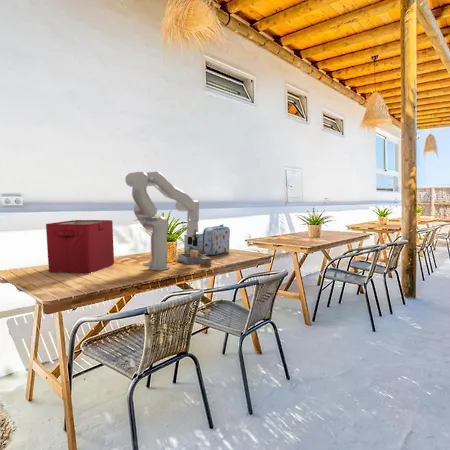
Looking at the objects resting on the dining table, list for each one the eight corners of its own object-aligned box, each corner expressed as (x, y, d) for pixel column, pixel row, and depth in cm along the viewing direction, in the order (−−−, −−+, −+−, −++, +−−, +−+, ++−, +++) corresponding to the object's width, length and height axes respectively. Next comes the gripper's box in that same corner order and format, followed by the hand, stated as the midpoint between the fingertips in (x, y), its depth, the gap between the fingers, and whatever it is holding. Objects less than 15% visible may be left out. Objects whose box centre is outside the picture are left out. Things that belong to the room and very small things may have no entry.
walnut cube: (203, 266, 206) (203, 258, 205) (200, 265, 210) (200, 257, 210) (211, 266, 208) (211, 258, 208) (207, 264, 212) (207, 257, 212)
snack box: (189, 255, 247) (189, 235, 246) (184, 254, 251) (183, 234, 249) (207, 251, 264) (207, 232, 263) (202, 251, 268) (202, 232, 266)
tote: (186, 264, 213) (186, 258, 213) (178, 259, 229) (178, 254, 229) (206, 262, 219) (206, 256, 219) (196, 258, 235) (196, 252, 235)
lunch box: (220, 250, 268) (220, 223, 267) (231, 251, 263) (231, 223, 261) (200, 255, 245) (200, 226, 243) (212, 257, 240) (212, 226, 238)
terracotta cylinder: (191, 262, 218) (191, 251, 217) (189, 260, 222) (189, 250, 222) (198, 261, 220) (198, 251, 219) (196, 260, 224) (196, 249, 224)
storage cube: (87, 275, 186) (85, 223, 184) (44, 273, 191) (42, 223, 189) (117, 263, 217) (115, 219, 215) (79, 262, 223) (78, 219, 220)
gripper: (183, 218, 225) (182, 244, 225) (192, 219, 209) (191, 246, 210) (193, 218, 228) (193, 243, 229) (203, 219, 212) (202, 246, 213)
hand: (192, 245), depth 219 cm, fingers open, 9 cm apart
